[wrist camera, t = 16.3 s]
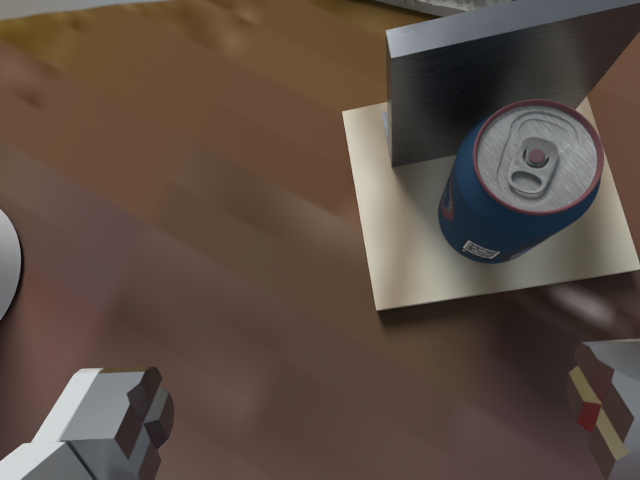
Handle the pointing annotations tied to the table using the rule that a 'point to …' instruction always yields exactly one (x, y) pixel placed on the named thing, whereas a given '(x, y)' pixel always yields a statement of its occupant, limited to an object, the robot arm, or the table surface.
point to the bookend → (495, 66)
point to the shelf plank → (433, 249)
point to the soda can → (520, 180)
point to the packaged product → (444, 5)
